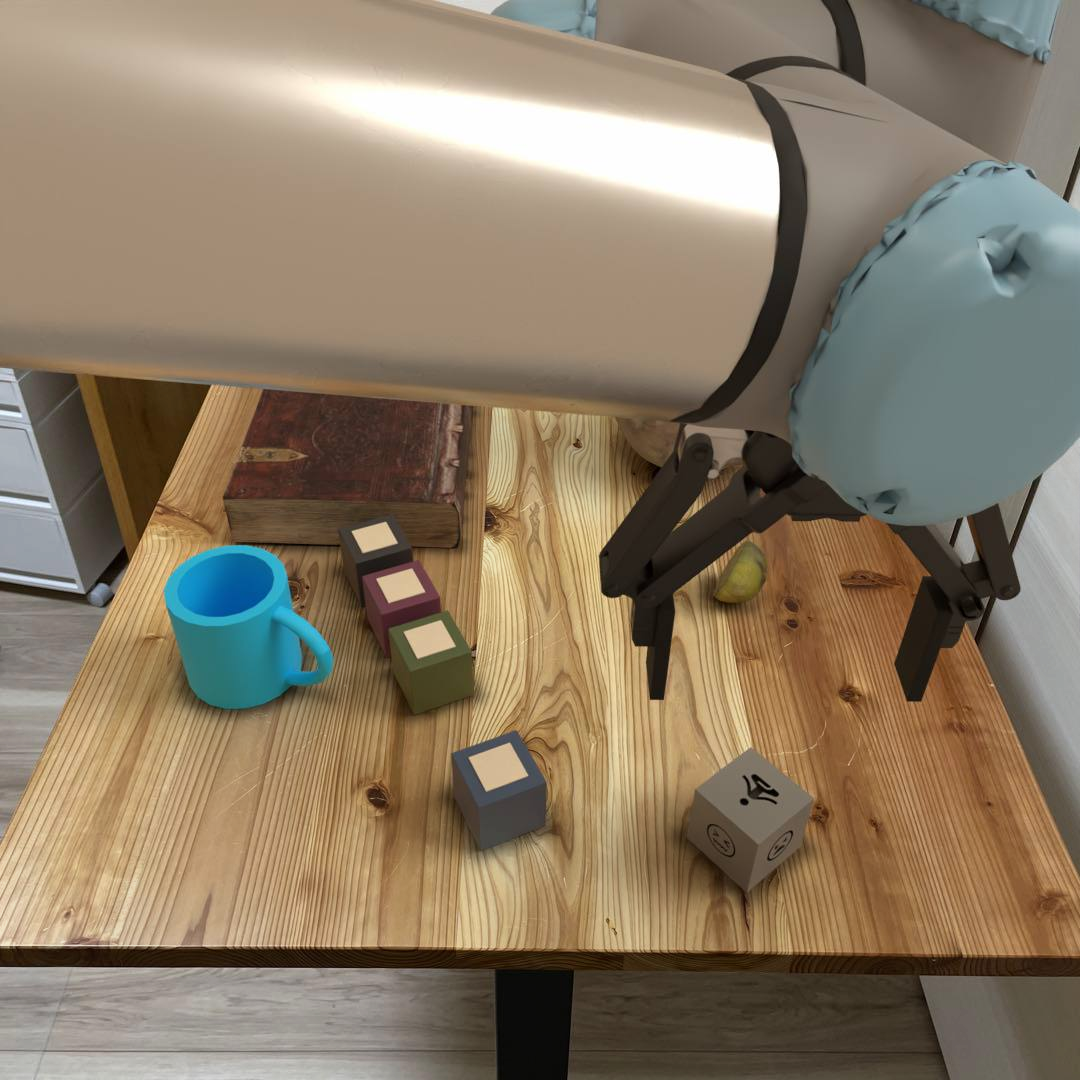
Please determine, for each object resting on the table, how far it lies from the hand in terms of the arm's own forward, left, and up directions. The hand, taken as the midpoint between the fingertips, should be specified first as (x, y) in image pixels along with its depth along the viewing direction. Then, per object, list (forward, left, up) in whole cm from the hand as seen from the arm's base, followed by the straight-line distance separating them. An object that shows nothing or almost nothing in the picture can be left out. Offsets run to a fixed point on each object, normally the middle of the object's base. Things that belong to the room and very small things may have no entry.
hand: (781, 682), depth 57 cm
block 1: (-13, +33, -15) cm, 38 cm away
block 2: (-13, +27, -15) cm, 33 cm away
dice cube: (0, 0, -15) cm, 15 cm away
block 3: (-13, +21, -15) cm, 28 cm away
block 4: (-13, +9, -15) cm, 21 cm away
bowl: (+19, +38, -15) cm, 45 cm away
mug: (-24, +26, -15) cm, 38 cm away
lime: (+12, +20, -15) cm, 27 cm away
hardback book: (-8, +51, -15) cm, 53 cm away
